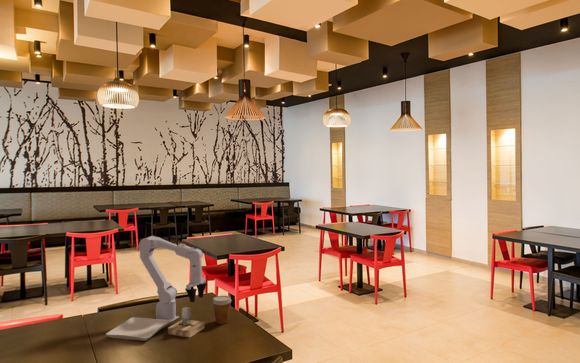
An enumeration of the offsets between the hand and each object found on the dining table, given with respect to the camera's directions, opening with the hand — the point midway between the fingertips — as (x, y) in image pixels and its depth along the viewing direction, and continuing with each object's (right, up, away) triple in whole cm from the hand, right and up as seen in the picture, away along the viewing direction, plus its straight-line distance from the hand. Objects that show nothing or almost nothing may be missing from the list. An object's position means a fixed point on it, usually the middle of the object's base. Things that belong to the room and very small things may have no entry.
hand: (196, 299), depth 200 cm
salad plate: (-23, -11, -16) cm, 30 cm away
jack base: (-1, -11, -14) cm, 18 cm away
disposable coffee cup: (+14, -11, -3) cm, 17 cm away
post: (-1, -7, -14) cm, 16 cm away
